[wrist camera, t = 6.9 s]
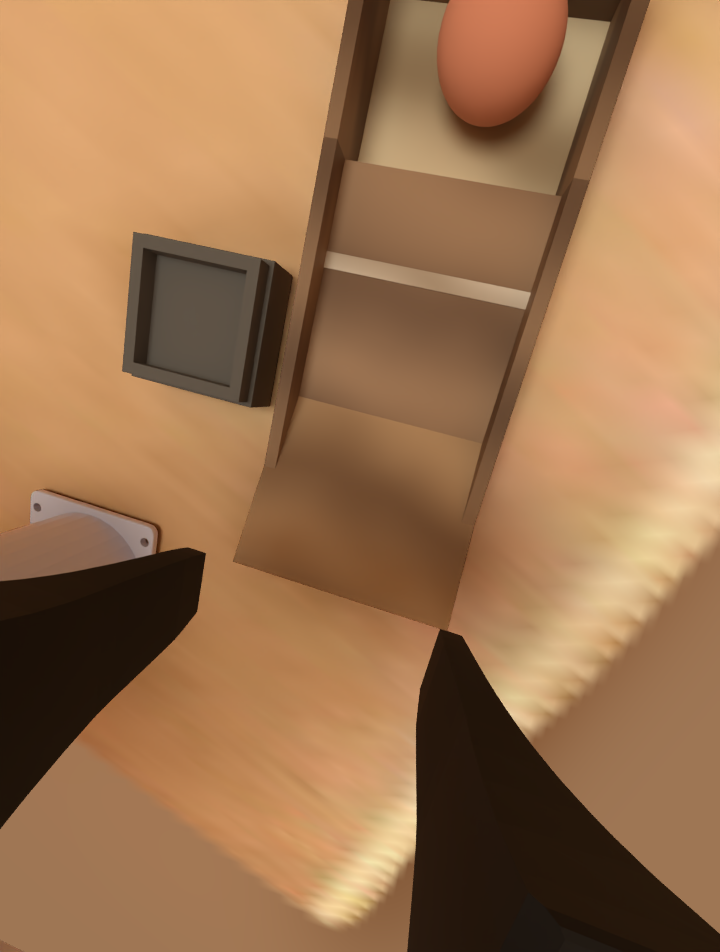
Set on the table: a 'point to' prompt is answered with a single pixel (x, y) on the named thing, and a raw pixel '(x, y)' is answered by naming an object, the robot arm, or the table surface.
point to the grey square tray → (204, 319)
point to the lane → (420, 304)
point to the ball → (498, 55)
